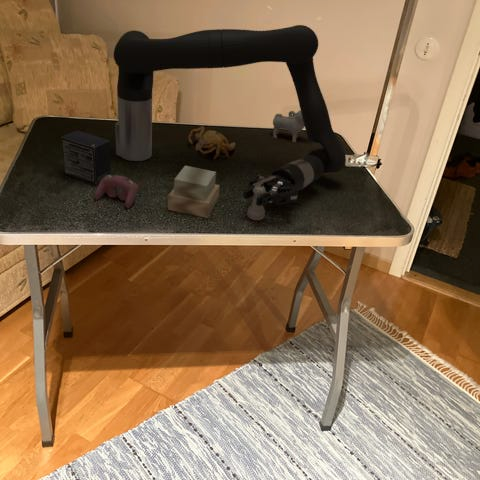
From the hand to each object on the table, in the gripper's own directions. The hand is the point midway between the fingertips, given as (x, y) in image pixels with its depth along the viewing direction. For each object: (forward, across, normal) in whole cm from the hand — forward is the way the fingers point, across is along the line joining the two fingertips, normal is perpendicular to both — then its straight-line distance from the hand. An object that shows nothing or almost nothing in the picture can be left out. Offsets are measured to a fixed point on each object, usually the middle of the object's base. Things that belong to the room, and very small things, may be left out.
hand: (251, 198), depth 116 cm
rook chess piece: (-3, 0, +6) cm, 7 cm away
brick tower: (+4, -14, +6) cm, 16 cm away
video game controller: (+17, -28, +7) cm, 33 cm away
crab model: (-24, -34, +7) cm, 42 cm away
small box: (+15, -42, +7) cm, 45 cm away
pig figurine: (-52, -25, +7) cm, 58 cm away
